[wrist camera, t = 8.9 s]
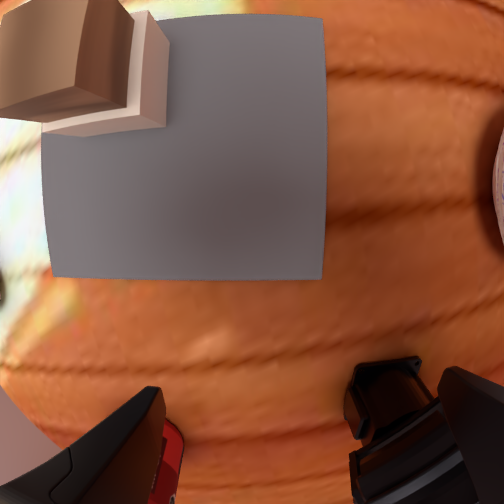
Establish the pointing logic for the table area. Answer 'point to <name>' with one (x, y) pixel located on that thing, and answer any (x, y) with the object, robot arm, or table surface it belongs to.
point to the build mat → (204, 164)
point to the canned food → (167, 467)
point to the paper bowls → (499, 185)
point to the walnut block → (64, 59)
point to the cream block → (131, 88)
